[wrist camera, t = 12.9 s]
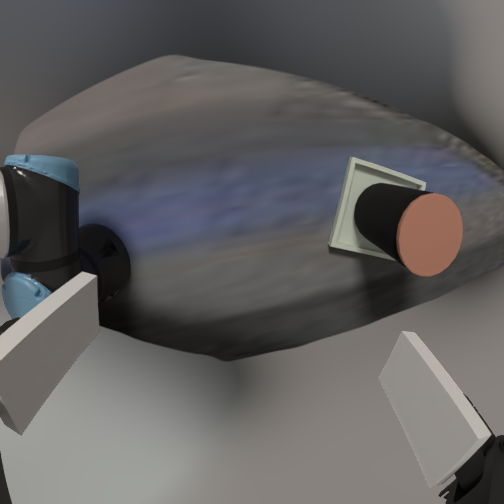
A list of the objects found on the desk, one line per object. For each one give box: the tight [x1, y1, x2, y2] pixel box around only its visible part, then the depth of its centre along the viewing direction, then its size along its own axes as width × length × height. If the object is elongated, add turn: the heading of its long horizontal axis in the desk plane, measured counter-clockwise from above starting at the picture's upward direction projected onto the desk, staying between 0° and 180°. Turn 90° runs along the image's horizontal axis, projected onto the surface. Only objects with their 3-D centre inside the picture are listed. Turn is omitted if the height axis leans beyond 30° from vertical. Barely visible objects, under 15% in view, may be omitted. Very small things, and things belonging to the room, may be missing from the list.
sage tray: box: [328, 157, 426, 261], centre depth 47 cm, size 16×16×2 cm
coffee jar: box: [354, 183, 463, 276], centre depth 39 cm, size 11×11×18 cm
